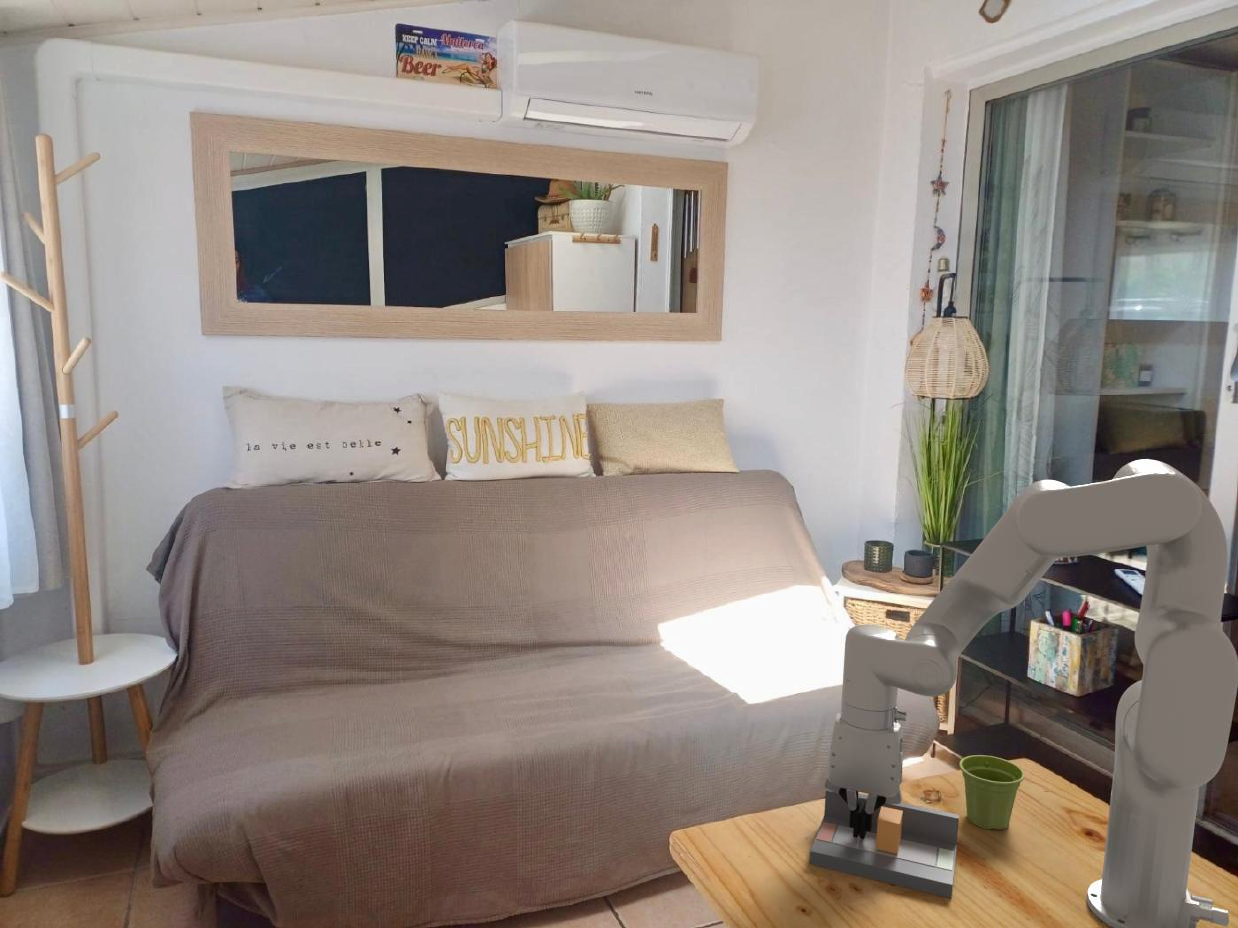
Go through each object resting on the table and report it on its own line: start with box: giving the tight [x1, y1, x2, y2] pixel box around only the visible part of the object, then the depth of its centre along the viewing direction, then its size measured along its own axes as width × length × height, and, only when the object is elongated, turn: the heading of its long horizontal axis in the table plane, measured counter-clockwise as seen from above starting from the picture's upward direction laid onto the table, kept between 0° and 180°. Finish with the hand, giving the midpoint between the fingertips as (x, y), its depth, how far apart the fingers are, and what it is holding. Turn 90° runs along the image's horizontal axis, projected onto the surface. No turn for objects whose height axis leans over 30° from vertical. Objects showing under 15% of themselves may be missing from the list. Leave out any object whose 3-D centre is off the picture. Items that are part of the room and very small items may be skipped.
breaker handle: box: [876, 806, 903, 854], centre depth 131 cm, size 3×4×4 cm
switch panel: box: [809, 788, 960, 899], centre depth 132 cm, size 19×12×6 cm, turn 67°
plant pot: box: [959, 754, 1025, 831], centre depth 143 cm, size 9×9×9 cm
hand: (860, 833), depth 133 cm, fingers closed
